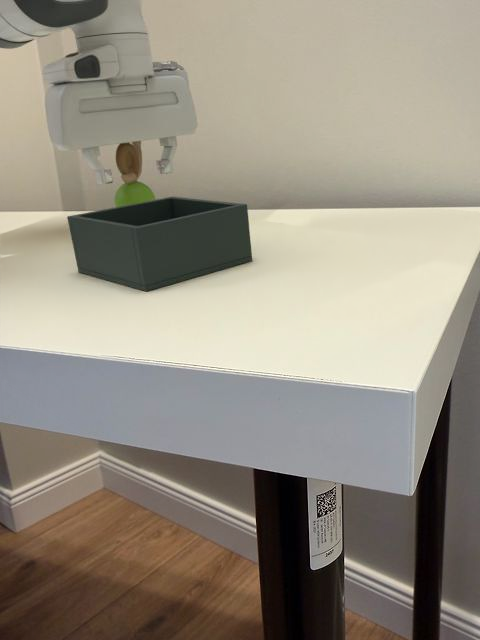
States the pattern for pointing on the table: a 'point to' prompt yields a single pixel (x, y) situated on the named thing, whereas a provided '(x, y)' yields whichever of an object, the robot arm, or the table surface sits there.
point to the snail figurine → (131, 175)
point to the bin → (161, 241)
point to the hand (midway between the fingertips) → (136, 178)
